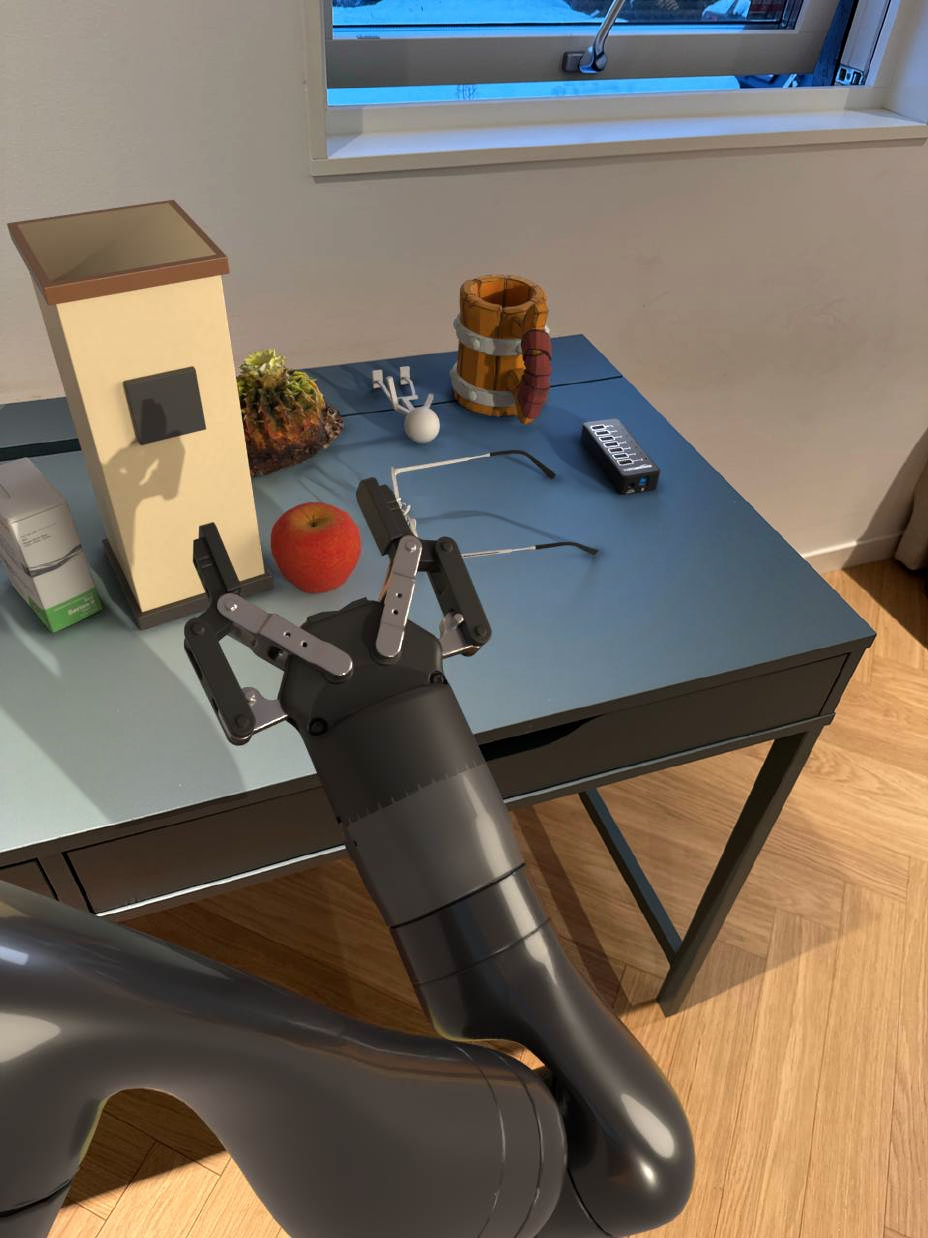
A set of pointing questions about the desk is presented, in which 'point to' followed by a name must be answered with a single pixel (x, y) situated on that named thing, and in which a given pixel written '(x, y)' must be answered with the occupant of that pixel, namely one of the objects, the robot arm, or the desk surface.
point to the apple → (315, 546)
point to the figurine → (410, 408)
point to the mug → (502, 347)
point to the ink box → (43, 548)
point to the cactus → (282, 414)
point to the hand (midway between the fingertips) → (287, 506)
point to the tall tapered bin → (149, 393)
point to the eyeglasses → (538, 463)
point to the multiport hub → (619, 456)
